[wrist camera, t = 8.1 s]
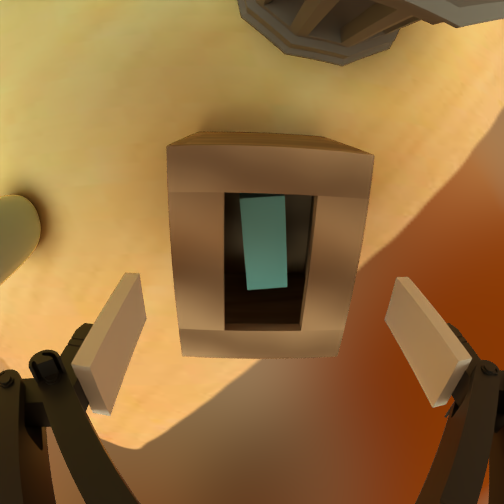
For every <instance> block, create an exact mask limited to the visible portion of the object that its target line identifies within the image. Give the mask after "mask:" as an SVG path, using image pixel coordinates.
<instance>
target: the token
mask: <svg viewBox="0 0 504 504" xmlns="http://www.w3.org/2000/svg"><path fill="white" fill-rule="evenodd" d="M240 211H241V222H242V234H243V246H244V257H245V269H246V280H247V290H255V289H269V288H282V287H287V247H286V215H285V195H284V194H268V193H240Z"/></svg>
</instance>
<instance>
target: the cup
mask: <svg viewBox="0 0 504 504" xmlns="http://www.w3.org/2000/svg"><path fill="white" fill-rule="evenodd" d="M40 235H41V225H40V220H39V216H38V213H37V211H36V209H35V207H34V206H33V204H32V203H31V202H30V201H29V200H28V199H27V198H25V197H23V196H20V195H11V194H10V195H4V196H0V285H1V284H3V283H4V282H5V281H6V280H7V279H8V278H9V277H10V276H11V275H12V274H13V273H14V272H15V271H16V270H17V269H18V268H20V266H21V265H22V264H23V263H24V262H25V261H26V260H27V259H28V258H29V257H30V256H31V254H32V253H33V252H34V250H35V249H36V247H37V245H38V242H39V240H40Z"/></svg>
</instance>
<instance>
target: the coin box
mask: <svg viewBox="0 0 504 504" xmlns="http://www.w3.org/2000/svg"><path fill="white" fill-rule="evenodd" d="M373 164H374V155H372V154H370V153H367V152H365V151H362V150H359V149H356V148H354V147H351V146H348V145H345V144H343V143H340V142H337V141H334V140H331V139H328V138H325V137H319V136H307V135H294V134H277V133H253V132H197V133H195V134H192V135H190V136H188V137H185V138H183V139H181V140H179V141H176V142H174V143H172V144H170V145H168V146H167V183H168V206H169V225H170V240H171V254H172V267H173V278H174V289H175V299H176V308H177V317H178V326H179V334H180V342H181V350H182V356H187V357H208V358H247V359H269V358H270V359H274V358H275V359H277V358H315V357H334V356H335V357H336V356H337V355H338V352H339V348H340V344H341V340H342V336H343V332H344V328H345V324H346V320H347V315H348V311H349V306H350V302H351V297H352V293H353V288H354V283H355V278H356V273H357V268H358V263H359V258H360V252H361V247H362V241H363V235H364V229H365V223H366V217H367V210H368V203H369V196H370V188H371V181H372V172H373ZM240 193H268V194H284V195H285V215H286V247H287V287H282V288H269V289H255V290H247V280H246V269H245V257H244V246H243V234H242V222H241V211H240Z"/></svg>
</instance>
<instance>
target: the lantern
mask: <svg viewBox="0 0 504 504" xmlns="http://www.w3.org/2000/svg"><path fill="white" fill-rule="evenodd" d="M237 1H238V5H239V10H240V14H241V18H243V19H244V20H245V21H246V22H248V23H249V24H250V25H251V26H253V27H254V28H255V29H256V30H258V31H259V32H260V33H261V34H262V35H264V36H265V37H266V38H267V39H268V40H269V41H271V42H272V43H273V44H274V45H275V46H276V47H277V48H279V49H280V50H281V51H282V52H283V53H284V54H287V55H293V56H299V57H304V58H309V59H314V60H318V61H323V62H327V63H332V64H336V65H340V66H343V65H346V64H348V63H351V62H354V61H356V60H359V59H362V58H364V57H367V56H370V55H372V54H375V53H378V52H381V51H384V50H387V49H389V48H390V46H391V44H392V42H393V41H394V40H395V38H396V36H397V34H398V32H399V30H400V28H403V27H405V26H407V25H410V24H412V23H415V22H417V21H420V20H423V21H426V22H428V23H430V24H432V25H434V24H438V23H442V22H445V23H447V24H449V25H451V26H453V27H455V28H459V27H464V26H468V25H473V24H478V23H483V22H488V21H493V20H499V19H504V0H237Z"/></svg>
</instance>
